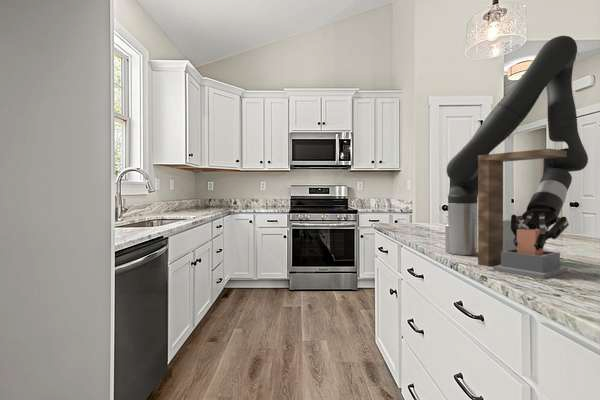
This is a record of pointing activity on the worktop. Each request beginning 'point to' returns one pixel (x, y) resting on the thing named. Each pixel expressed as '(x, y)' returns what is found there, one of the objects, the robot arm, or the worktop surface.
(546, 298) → the worktop surface
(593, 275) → the worktop surface
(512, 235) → the skincare box
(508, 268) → the socket
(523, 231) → the peg
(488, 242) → the wooden l-shaped bracket
